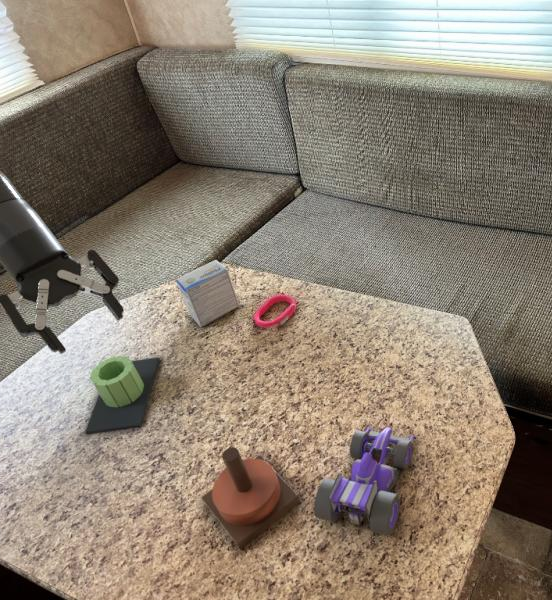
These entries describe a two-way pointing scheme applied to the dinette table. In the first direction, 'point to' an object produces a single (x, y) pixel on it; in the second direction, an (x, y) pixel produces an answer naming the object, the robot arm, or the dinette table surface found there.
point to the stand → (248, 497)
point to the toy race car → (367, 482)
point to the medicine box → (208, 292)
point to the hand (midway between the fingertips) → (92, 334)
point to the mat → (128, 414)
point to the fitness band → (281, 318)
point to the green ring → (117, 381)
